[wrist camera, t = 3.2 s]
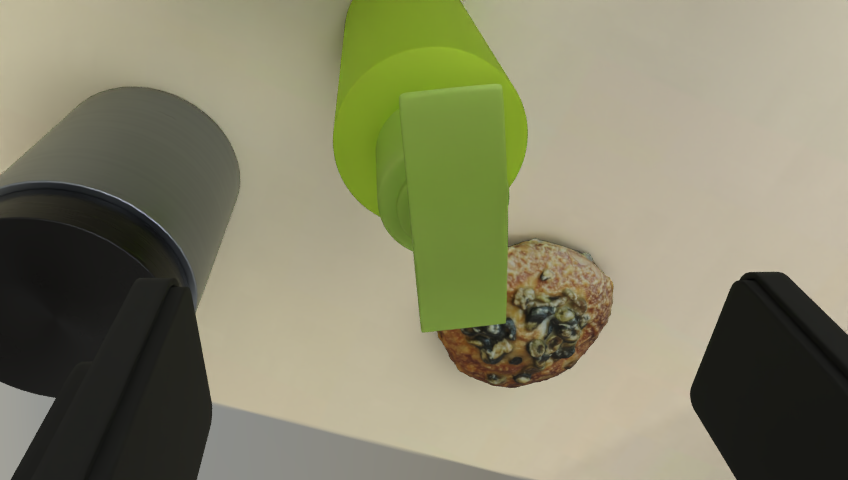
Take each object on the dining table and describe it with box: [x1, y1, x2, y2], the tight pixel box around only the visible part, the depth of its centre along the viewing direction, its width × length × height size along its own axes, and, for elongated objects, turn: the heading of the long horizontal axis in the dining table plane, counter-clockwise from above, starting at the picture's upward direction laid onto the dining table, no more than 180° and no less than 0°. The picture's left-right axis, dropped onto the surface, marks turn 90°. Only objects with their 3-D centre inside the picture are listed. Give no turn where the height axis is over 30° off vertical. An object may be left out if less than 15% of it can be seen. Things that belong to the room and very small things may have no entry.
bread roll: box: [437, 238, 613, 388], centre depth 37 cm, size 11×11×5 cm
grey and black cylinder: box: [0, 87, 240, 398], centre depth 27 cm, size 9×9×12 cm
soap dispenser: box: [333, 0, 528, 332], centre depth 21 cm, size 6×7×20 cm
